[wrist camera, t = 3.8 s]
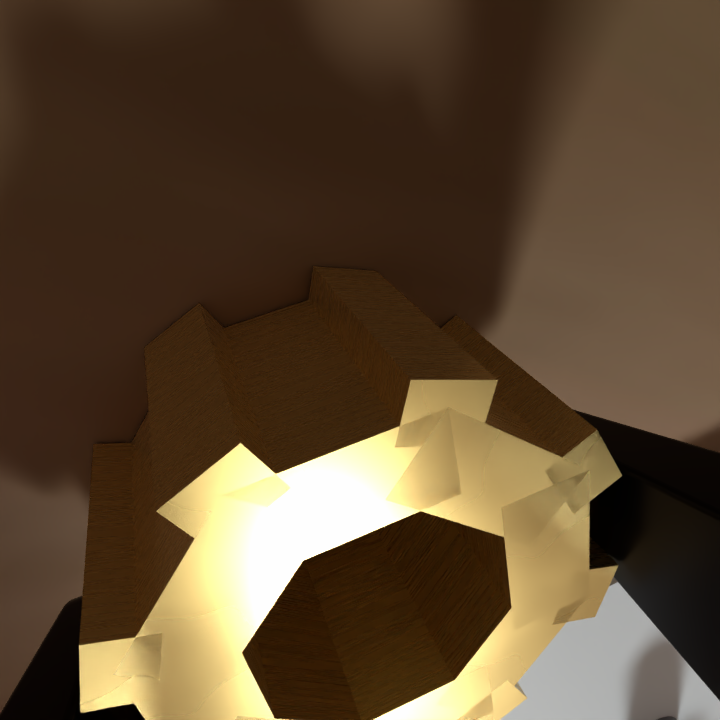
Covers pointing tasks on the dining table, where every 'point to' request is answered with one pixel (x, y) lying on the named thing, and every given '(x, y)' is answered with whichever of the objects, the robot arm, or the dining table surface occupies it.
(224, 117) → the dining table surface
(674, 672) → the gear board
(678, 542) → the robot arm
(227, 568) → the gear
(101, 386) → the dining table surface
